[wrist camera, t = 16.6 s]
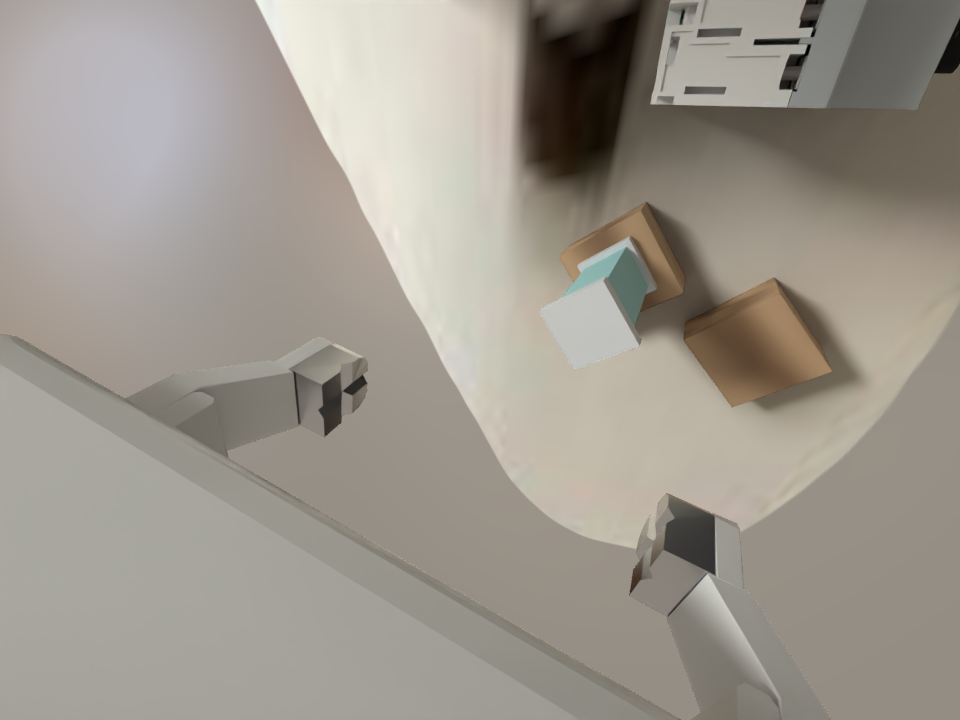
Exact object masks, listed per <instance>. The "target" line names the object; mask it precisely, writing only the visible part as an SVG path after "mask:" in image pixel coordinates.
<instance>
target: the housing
mask: <svg viewBox="0 0 960 720" xmlns="http://www.w3.org/2000/svg"><path fill="white" fill-rule="evenodd" d="M577 267H578V269H579V271H580V272H581V274H580V275H579V276H578V278H577V279H576V280H575V282H574V283H573V284H572V286H571V287H570V288H569V289H568V291H567V292H566V293H565V295H564V296H563V297H562V298H561V299H559V300H557V301H555V302H553V303H551V304H549V305H547V306H545V307H543V308H542V309H541V311H540V312H539V313H540V315H541V317H542V318H543V320H544V322H545V323H546V325H547V327H548V328H549V330H550V332H551V333H552V335H553V337H554V338H555V340H556V342H557V343H558V345H559V346H560V348H561V350H562V351H563V353H564V355H565V356H566V358H567V360H568V361H569V363H570V365H571V366H572V368H573V370H577V369H580V368H582V367H585V366H588V365H590V364H593V363H596V362H598V361H601V360H604V359H607V358H609V357H612V356H615V355H617V354H620V353H623V352H625V351H628V350H631V349H634V348H636V347H639V346H640V344H641V340H642V339H641V338H640V336H639V334H638V332H637V330H636V329H635V324H636V321H637V318H638V315H639V312H640V309H641V306H642V303H643V300H644V297H645V295H646V294H648V293H650V292H652V291H654V290H656V289H657V284H656V282H655V280H654V278H653V276H652V275H651V273H650V271H649V269H648V267H647V265H646V263H645V261H644V260H643V258H642V256H641V254H640V252H639V250H638V248H637V246H636V244H635V243H634V241H633V239H632V237H631V236H629V237H627V238H625V239H623V240H622V241H620V242H618V243H616V244H614V245H612V246H610V247H609V248H607V249H605V250H603V251H601V252H599V253H597V254H596V255H594V256H592V257H590V258H588V259H586V260H584V261H582V262H581V263H579V264H578V266H577Z"/></svg>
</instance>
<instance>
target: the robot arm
mask: <svg viewBox="0 0 960 720" xmlns="http://www.w3.org/2000/svg"><path fill="white" fill-rule="evenodd" d="M367 370H368V362H367V360H366V359H365V358H364V357H362V356H360V355H358V354H356V353H354V352H352V351H350V350H348V349H345V348H343V347H341V346H339V345H337V344H334V343H332V342H330V341H328V340H326V339H324V338H322V337H320V338H314V339H313V340H311V341H309V342H308V343H306V344H304V345H303V346H301V347H299V348H297V349H296V350H294V351H292V352H291V353H289V354H287V355H286V356H284V357H282V358H281V359H279V360H277V361H275V362H271V361H262V362H255V363H248V364H241V365H235V366H227V367H221V368H214V369H207V370H200V371H193V372H187V373H180V374H173V375H171V376H169V377H167V378H165V379H163V380H161V381H159V382H157V383H155V384H153V385H151V386H149V387H147V388H145V389H143V390H141V391H139V392H137V393H135V394H133V395H131V396H130V397H127V398H123V397H122V396H120V395H118V394H116V393H115V392H113V391H111V390H110V389H108V388H106V387H104V386H103V385H101V384H99V383H97V382H95V381H94V380H92V379H90V378H89V377H87V376H85V375H84V374H82V373H80V372H78V371H77V370H75V369H73V368H71V367H70V366H68V365H66V364H64V363H63V362H61V361H59V360H58V359H56V358H54V357H52V356H51V355H49V354H47V353H46V352H44V351H42V350H41V349H39V348H37V347H36V346H34V345H32V344H31V343H29V342H27V341H25V340H23V339H21V338H19V337H17V336H13V335H8V334H0V720H681V719H679V718H677V717H676V716H674V715H672V714H671V713H669V712H667V711H665V710H664V709H662V708H660V707H658V706H657V705H655V704H653V703H651V702H650V701H648V700H646V699H644V698H643V697H641V696H639V695H638V694H636V693H634V692H632V691H631V690H629V689H627V688H626V687H624V686H622V685H620V684H618V683H617V682H615V681H613V680H612V679H610V678H608V677H606V676H605V675H603V674H601V673H599V672H598V671H596V670H594V669H593V668H590V667H589V666H587V665H586V664H584V663H582V662H581V661H579V660H577V659H575V658H574V657H572V656H570V655H568V654H567V653H565V652H563V651H561V650H560V649H558V648H556V647H555V646H553V645H551V644H549V643H548V642H546V641H544V640H542V639H541V638H539V637H537V636H535V635H534V634H532V633H530V632H528V631H527V630H525V629H523V628H522V627H520V626H518V625H516V624H515V623H513V622H511V621H509V620H508V619H506V618H504V617H502V616H501V615H499V614H497V613H496V612H494V611H492V610H490V609H489V608H487V607H485V606H483V605H482V604H480V603H478V602H476V601H475V600H473V599H471V598H469V597H468V596H466V595H464V594H463V593H461V592H459V591H457V590H455V589H454V588H452V587H450V586H449V585H447V584H445V583H444V582H442V581H440V580H438V579H437V578H435V577H433V576H431V575H429V574H428V573H426V572H424V571H423V570H421V569H419V568H417V567H416V566H414V565H412V564H410V563H409V562H407V561H405V560H404V559H402V558H400V557H398V556H397V555H395V554H393V553H392V552H390V551H388V550H386V549H385V548H383V547H381V546H379V545H378V544H376V543H374V542H372V541H371V540H369V539H367V538H365V537H364V536H362V535H360V534H359V533H357V532H355V531H354V530H352V529H350V528H348V527H347V526H345V525H343V524H341V523H340V522H338V521H336V520H334V519H333V518H331V517H329V516H328V515H326V514H324V513H322V512H321V511H319V510H317V509H315V508H314V507H312V506H310V505H309V504H307V503H305V502H303V501H302V500H300V499H298V498H296V497H295V496H293V495H291V494H289V493H288V492H286V491H284V490H283V489H281V488H279V487H277V486H276V485H274V484H272V483H270V482H269V481H267V480H265V479H264V478H262V477H260V476H258V475H256V474H255V473H253V472H251V471H250V470H248V469H246V468H244V467H243V466H241V465H239V464H238V463H236V462H234V461H232V460H231V459H229V457H228V453H227V451H228V450H230V449H233V448H236V447H239V446H242V445H245V444H248V443H251V442H254V441H257V440H260V439H263V438H266V437H269V436H271V435H274V434H277V433H281V432H283V431H286V430H289V429H292V428H295V427H298V426H299V425H300V426H303V427H305V428H307V429H309V430H311V431H313V432H315V433H317V434H319V435H321V436H323V437H325V436H326V435H328V434H329V433H330V432H331V431H332V430H333V429H335V428H336V427H337V426H338V425H339V424H340V423H341V421H342V416H343V415H346V414H350V413H353V412H354V411H355V410H356V409H357V408H359V406H360V405H361V403H362V402H363V400H364V398H365V396H366V392H367V382H366V380H365V378H364V376H363V374H364V373H365V372H367ZM636 554H637V556H638V558H639V560H640V561H639V562H638V563H637V565H636V566H635V568H634V569H633V574H632V581H631V587H630V593H629V596H631V597H632V598H634V599H636V600H638V601H639V602H641V603H643V604H645V605H647V606H649V607H650V608H652V609H654V610H656V611H658V612H659V613H661V614H663V615H665V616H667V617H668V618H667V621H668V624H669V626H670V629H671V632H672V635H673V637H674V640H675V642H676V646H677V648H678V651H679V654H680V657H681V659H682V662H683V665H684V667H685V670H686V673H687V676H688V678H689V681H690V684H691V687H692V690H693V692H694V695H695V698H696V701H697V704H698V706H699V709H700V712H701V713H699V714H698V715H697V716H695V717H694V718H692V719H691V720H832V719H831V717H830V716H829V714H828V713H827V711H826V709H825V708H824V706H823V705H822V703H821V702H820V700H819V698H818V697H817V695H816V694H815V692H814V691H813V689H812V688H811V686H810V684H809V683H808V681H807V680H806V678H805V677H804V675H803V673H802V672H801V671H800V669H799V667H798V666H797V664H796V662H795V661H794V659H793V658H792V656H791V655H790V653H789V652H788V650H787V649H786V647H785V645H784V644H783V642H782V640H781V639H780V637H779V636H778V634H777V633H776V631H775V629H774V628H773V626H772V625H771V623H770V622H769V620H768V619H767V617H766V615H765V614H764V612H763V611H762V609H761V608H760V606H759V605H758V603H757V601H756V600H755V598H754V597H753V595H752V594H751V593H749V592H747V591H745V590H744V582H743V567H742V555H741V541H740V528H739V526H738V525H737V523H735V522H732V521H730V520H728V519H726V518H723V517H721V516H719V515H716V514H714V513H711V512H709V511H706V510H704V509H702V508H700V507H697V506H695V505H693V504H690V503H688V502H686V501H684V500H681V499H679V498H677V497H675V496H672V495H670V494H668V493H666V494H665V495H664V496H663V497H662V498H661V500H660V501H659V503H658V507H657V513H656V514H653V515H650V516H649V518H648V520H647V521H646V523H645V525H644V527H643V529H642V532H641V534H640V537H639V541H638V545H637V551H636Z"/></svg>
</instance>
